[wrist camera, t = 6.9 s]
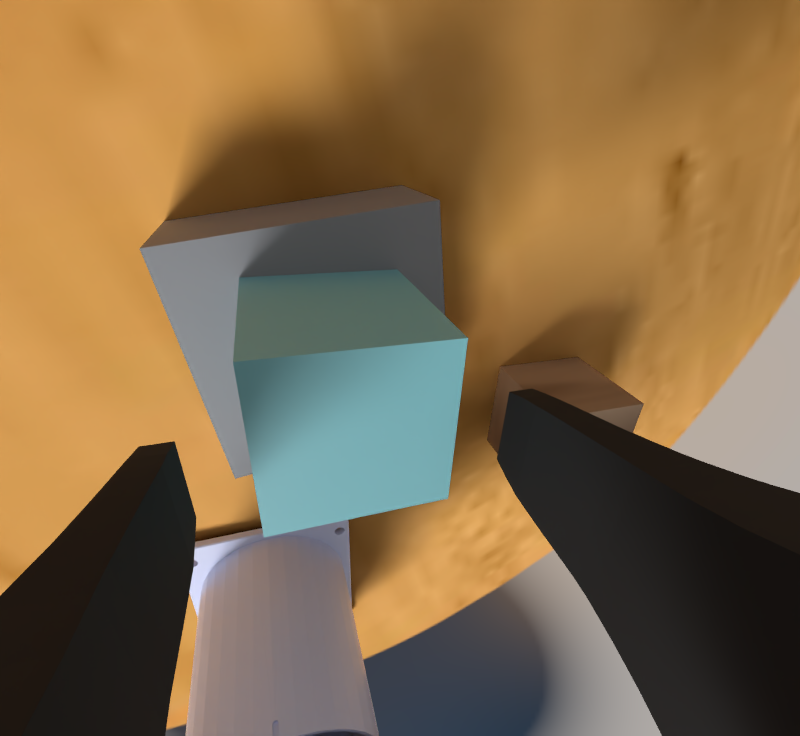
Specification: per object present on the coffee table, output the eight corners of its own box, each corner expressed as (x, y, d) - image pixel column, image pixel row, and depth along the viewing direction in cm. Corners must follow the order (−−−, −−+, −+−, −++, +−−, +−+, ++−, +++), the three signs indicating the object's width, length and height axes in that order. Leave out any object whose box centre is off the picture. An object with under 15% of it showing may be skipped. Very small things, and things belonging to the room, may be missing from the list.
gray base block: (415, 369, 20) (449, 419, 16) (238, 413, 18) (235, 478, 15) (399, 183, 15) (440, 199, 12) (165, 218, 14) (139, 248, 11)
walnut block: (557, 426, 24) (613, 481, 20) (486, 438, 23) (532, 499, 19) (576, 356, 22) (643, 403, 18) (499, 365, 21) (553, 418, 17)
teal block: (393, 395, 15) (447, 498, 11) (259, 413, 14) (264, 537, 10) (397, 269, 13) (468, 337, 9) (239, 277, 12) (232, 362, 7)
